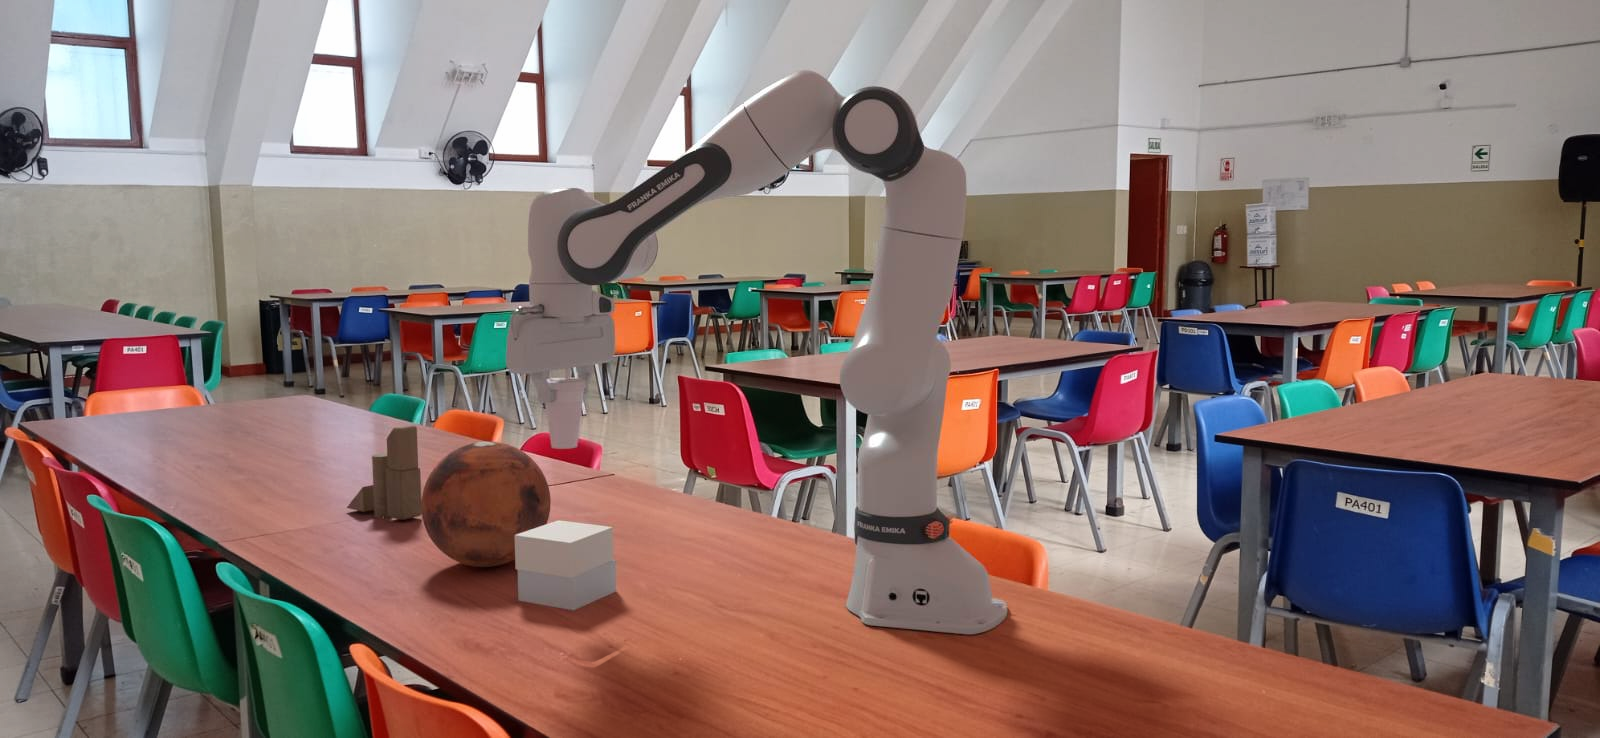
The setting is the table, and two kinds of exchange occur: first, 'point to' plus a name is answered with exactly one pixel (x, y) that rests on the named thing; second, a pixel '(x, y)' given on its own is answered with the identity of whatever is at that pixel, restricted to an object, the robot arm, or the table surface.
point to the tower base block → (567, 587)
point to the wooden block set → (394, 479)
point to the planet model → (484, 502)
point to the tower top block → (564, 548)
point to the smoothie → (565, 410)
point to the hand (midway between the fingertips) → (563, 399)
